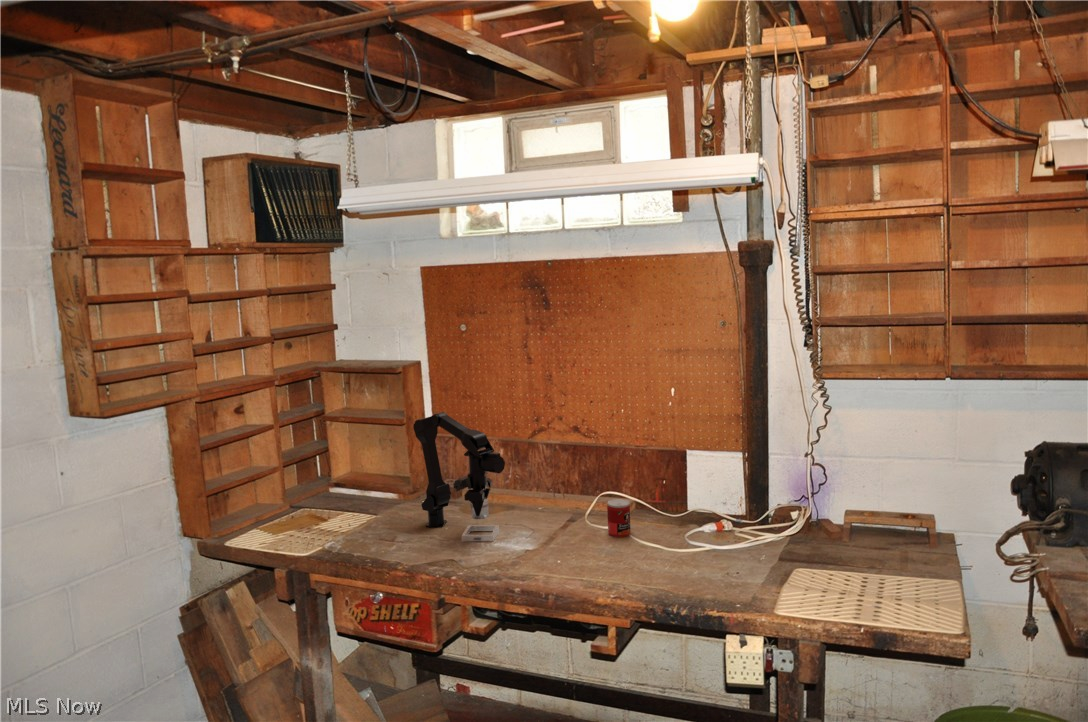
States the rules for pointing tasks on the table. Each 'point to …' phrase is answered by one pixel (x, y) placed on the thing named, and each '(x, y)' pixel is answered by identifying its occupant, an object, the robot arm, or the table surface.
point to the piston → (483, 513)
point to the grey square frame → (480, 537)
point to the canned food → (618, 517)
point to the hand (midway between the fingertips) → (479, 513)
